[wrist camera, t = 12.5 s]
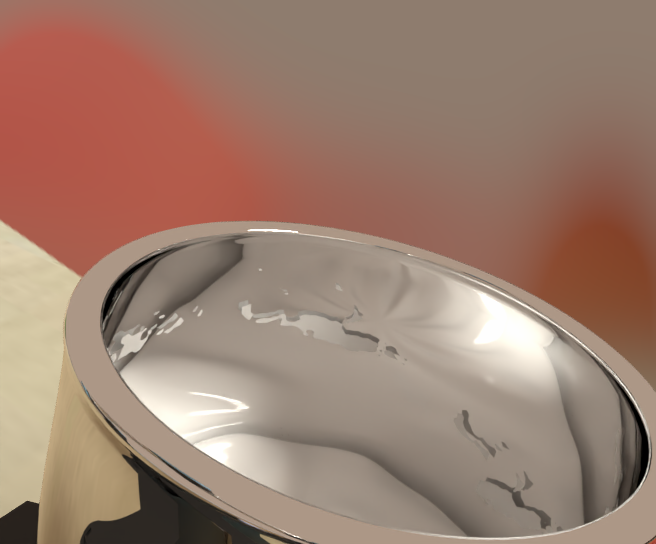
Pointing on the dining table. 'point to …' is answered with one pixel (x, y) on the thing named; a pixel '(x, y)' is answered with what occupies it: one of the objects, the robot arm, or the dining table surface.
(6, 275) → the dining table surface
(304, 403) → the silver metal tumbler
